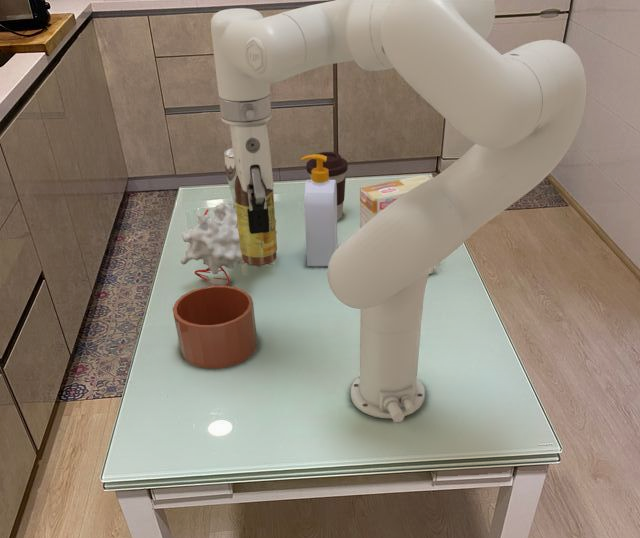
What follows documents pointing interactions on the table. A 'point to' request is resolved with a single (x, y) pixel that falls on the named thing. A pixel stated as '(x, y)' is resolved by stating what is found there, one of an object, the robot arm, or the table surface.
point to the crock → (216, 326)
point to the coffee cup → (333, 175)
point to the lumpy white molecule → (215, 241)
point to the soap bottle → (320, 214)
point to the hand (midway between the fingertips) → (256, 221)
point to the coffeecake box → (385, 196)
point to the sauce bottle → (257, 245)
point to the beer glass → (231, 173)
